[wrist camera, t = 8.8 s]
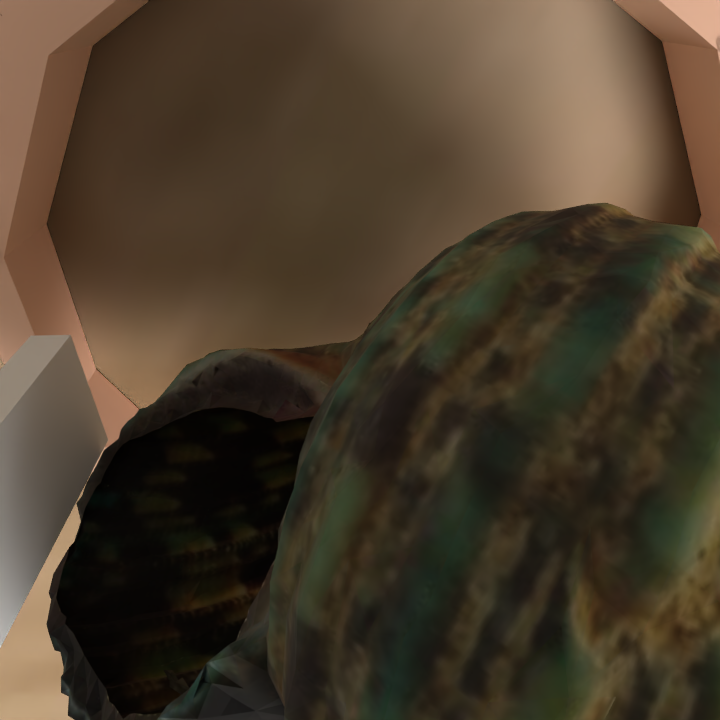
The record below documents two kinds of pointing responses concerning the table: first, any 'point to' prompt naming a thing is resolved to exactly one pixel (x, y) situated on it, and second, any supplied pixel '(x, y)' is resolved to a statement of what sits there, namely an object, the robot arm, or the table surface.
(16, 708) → the table surface
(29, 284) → the pink segmented ring
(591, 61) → the table surface
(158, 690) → the seashell
